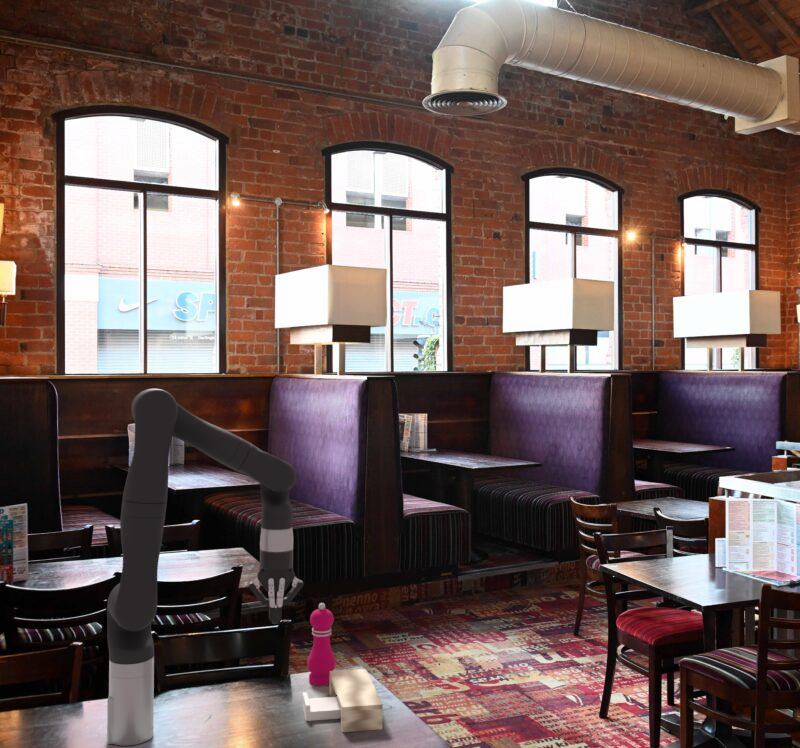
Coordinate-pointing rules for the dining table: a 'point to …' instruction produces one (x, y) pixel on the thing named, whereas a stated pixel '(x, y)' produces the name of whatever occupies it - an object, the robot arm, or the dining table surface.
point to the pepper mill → (321, 647)
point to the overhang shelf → (356, 700)
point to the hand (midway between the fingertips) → (275, 622)
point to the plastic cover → (321, 708)
